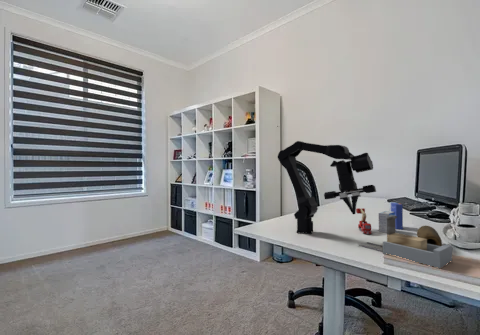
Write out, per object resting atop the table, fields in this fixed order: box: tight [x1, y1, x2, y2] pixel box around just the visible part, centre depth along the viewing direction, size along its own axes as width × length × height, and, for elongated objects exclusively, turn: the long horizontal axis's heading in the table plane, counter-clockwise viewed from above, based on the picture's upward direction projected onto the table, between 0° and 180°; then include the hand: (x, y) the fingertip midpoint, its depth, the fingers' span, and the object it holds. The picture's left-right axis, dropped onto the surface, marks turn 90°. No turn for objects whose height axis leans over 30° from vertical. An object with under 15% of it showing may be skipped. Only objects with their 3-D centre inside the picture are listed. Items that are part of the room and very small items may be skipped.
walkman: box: [388, 201, 404, 230], centre depth 122 cm, size 8×3×12 cm, turn 170°
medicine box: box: [378, 210, 395, 234], centre depth 114 cm, size 8×4×9 cm, turn 131°
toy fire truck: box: [356, 207, 372, 235], centre depth 115 cm, size 3×14×10 cm, turn 168°
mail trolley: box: [386, 216, 427, 251], centre depth 83 cm, size 10×6×12 cm, turn 34°
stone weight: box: [416, 225, 443, 246], centre depth 92 cm, size 15×7×7 cm, turn 153°
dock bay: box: [359, 240, 453, 269], centre depth 85 cm, size 25×10×5 cm, turn 34°
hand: (354, 214), depth 99 cm, fingers closed
